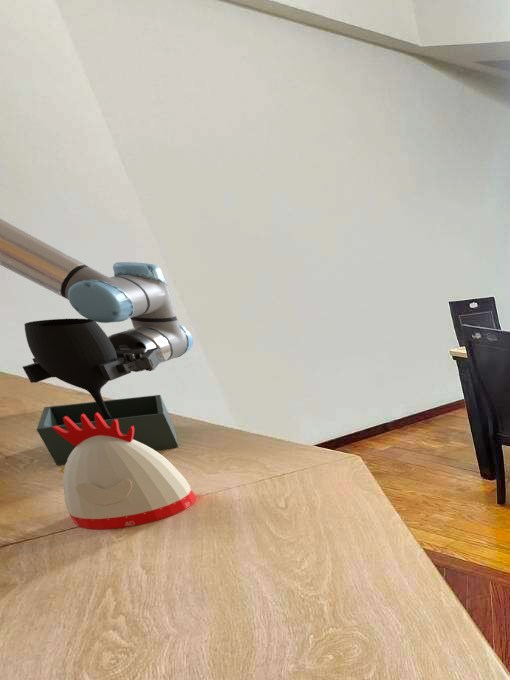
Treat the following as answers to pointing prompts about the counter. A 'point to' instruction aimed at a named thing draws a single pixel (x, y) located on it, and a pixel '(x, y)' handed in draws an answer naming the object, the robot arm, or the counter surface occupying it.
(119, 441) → the kitchen timer
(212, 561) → the counter surface
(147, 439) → the bin
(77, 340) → the wine glass
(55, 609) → the counter surface
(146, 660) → the counter surface
